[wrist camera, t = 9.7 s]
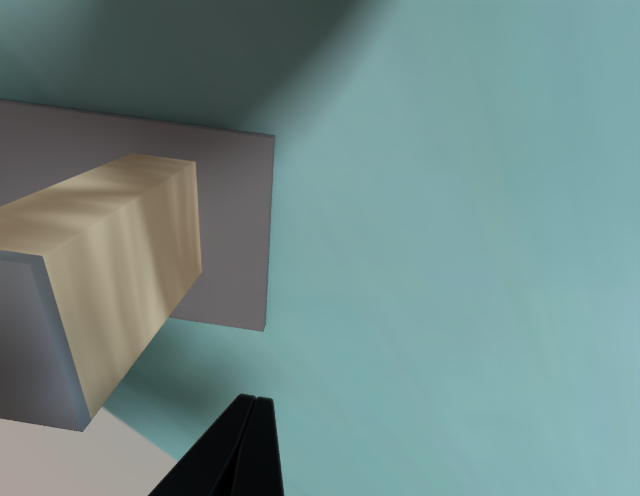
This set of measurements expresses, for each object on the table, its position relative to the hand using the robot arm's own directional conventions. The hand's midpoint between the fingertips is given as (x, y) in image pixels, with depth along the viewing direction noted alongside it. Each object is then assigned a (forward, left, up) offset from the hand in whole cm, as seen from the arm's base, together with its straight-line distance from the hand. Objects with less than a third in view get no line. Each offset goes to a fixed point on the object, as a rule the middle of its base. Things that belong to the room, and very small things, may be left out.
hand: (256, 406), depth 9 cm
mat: (+10, +1, -11) cm, 15 cm away
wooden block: (+7, 0, -10) cm, 12 cm away
